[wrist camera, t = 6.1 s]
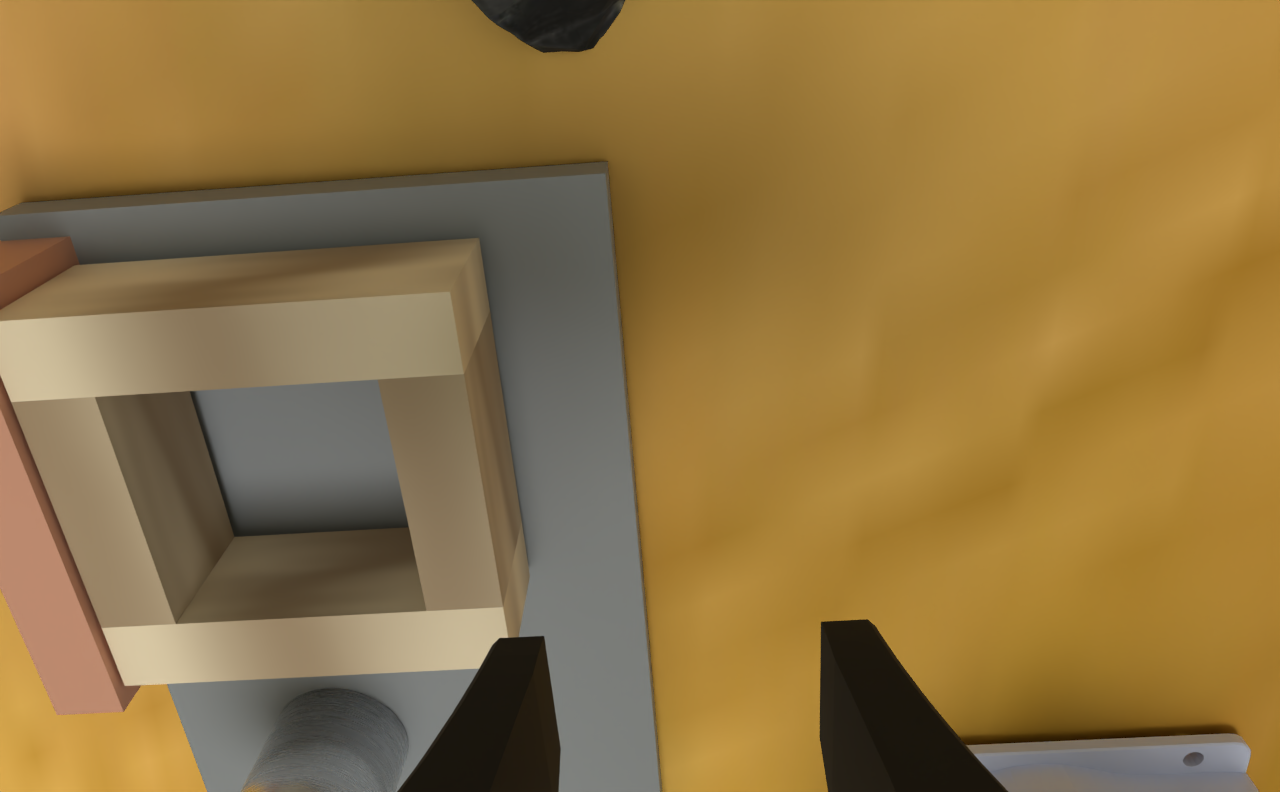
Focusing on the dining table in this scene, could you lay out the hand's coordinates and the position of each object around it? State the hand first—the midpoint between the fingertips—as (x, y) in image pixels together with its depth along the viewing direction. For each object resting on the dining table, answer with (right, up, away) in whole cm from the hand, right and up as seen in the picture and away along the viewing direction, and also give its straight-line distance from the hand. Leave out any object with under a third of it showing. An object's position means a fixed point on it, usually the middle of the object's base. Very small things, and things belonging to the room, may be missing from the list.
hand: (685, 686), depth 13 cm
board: (-7, 0, +10) cm, 12 cm away
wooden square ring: (-7, +3, +8) cm, 11 cm away
